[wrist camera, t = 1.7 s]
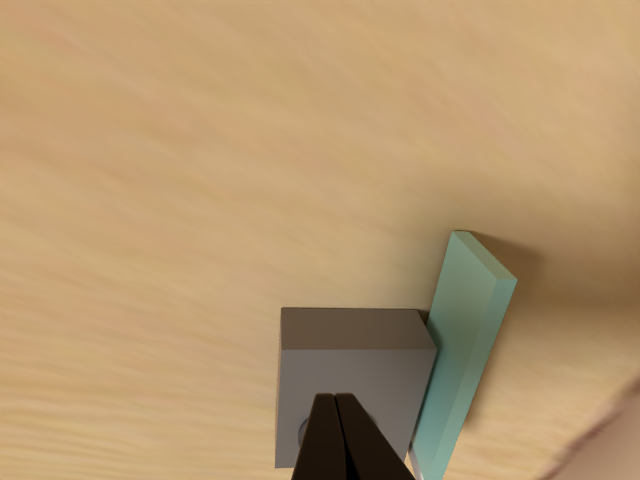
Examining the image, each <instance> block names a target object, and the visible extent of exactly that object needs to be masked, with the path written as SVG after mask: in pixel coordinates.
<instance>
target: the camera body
mask: <svg viewBox="0 0 640 480" xmlns="http://www.w3.org/2000/svg"><path fill="white" fill-rule="evenodd" d="M436 352H437V348H436V346H435V344H434V342H433V340H432V338H431V336H430V334H429V332H428V331H427V329H426V327H425V325H424V323H423V321H422V319H421V317H420V315H419V313H418V311H417V310H414V309H328V308H281V320H280V339H279V359H278V379H277V399H276V419H275V468H294V467H295V464H296V461H297V457H298V453H299V450H300V446H301V443H302V439H303V436H304V432H305V429H306V425H307V421H308V418H309V414H310V411H311V407H312V404H313V400H314V397H315V395H316V394H317V393H332V394H333V395H334V394H335V393H348V392H349V393H352V394H354V395H355V397H356V398H357V399H358V401H359V402H360V403H361V405H362V406H363V408H364V409H365V410H366V412H367V413H368V414H369V416H370V417H371V419H372V420H373V421H374V423H375V424H376V425H377V427H378V428H379V430H380V431H381V432H382V434H383V435H384V437H385V438H386V439H387V441H388V442H389V443H390V445H391V446H392V448H393V449H394V450H395V452H396V453H397V454H398V456H399V457H400V459H401V460H402V461H403V463H404V460H405V457H406V453H407V450H408V447H409V443H410V440H411V437H412V433H413V430H414V427H415V423H416V420H417V416H418V413H419V410H420V406H421V403H422V400H423V396H424V393H425V389H426V386H427V383H428V379H429V376H430V373H431V369H432V366H433V362H434V359H435V356H436Z"/></svg>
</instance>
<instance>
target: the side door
mask: <svg viewBox="0 0 640 480" xmlns="http://www.w3.org/2000/svg"><path fill="white" fill-rule="evenodd" d="M517 281H518V279H517V278H516V277H515V276H514V275H513V274H512V273H511V272H510V271H509V270H507V269H506V268H505V267H504V266H503V265H502V264H501V263H500V262H499V261H498V260H497V259H496V258H495V257H494V256H493V255H492V254H491V253H490V252H489V251H488V250H487V249H486V248H485V247H484V246H483V245H482V244H481V243H480V242H479V241H478V240H477V239H476V238H475V237H474V236H473V235H472V234H471V233H470V232H467V231H452V232H451V236H450V240H449V243H448V247H447V251H446V255H445V258H444V262H443V266H442V269H441V273H440V277H439V280H438V284H437V288H436V292H435V295H434V299H433V303H432V306H431V310H430V314H429V318H428V321H427V325H426V329H427V331H428V332H429V334H430V336H431V338H432V340H433V342H434V344H435V346H436V348H437V352H436V356H435V359H434V362H433V366H432V369H431V373H430V376H429V379H428V383H427V386H426V389H425V393H424V396H423V400H422V403H421V406H420V410H419V413H418V416H417V420H416V423H415V427H414V430H413V433H412V437H411V440H410V443H409V447H408V450H407V451H408V455H409V458H410V461H411V464H412V467H413V470H414V473H415V477H416V480H442V478H443V475H444V473H445V470H446V468H447V465H448V462H449V460H450V457H451V454H452V452H453V449H454V447H455V444H456V441H457V439H458V436H459V433H460V431H461V428H462V426H463V423H464V420H465V418H466V415H467V412H468V410H469V407H470V405H471V402H472V399H473V397H474V394H475V391H476V389H477V386H478V384H479V381H480V378H481V376H482V373H483V370H484V368H485V365H486V363H487V360H488V357H489V355H490V352H491V349H492V347H493V344H494V342H495V339H496V336H497V334H498V331H499V328H500V326H501V323H502V321H503V318H504V315H505V313H506V310H507V307H508V305H509V302H510V300H511V297H512V294H513V292H514V289H515V286H516V284H517Z"/></svg>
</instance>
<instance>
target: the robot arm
mask: <svg viewBox="0 0 640 480" xmlns="http://www.w3.org/2000/svg"><path fill="white" fill-rule="evenodd" d="M291 480H416V479H415V478H414V476H413V475H412V474H411V472H410V471H409V470H408V468H407V467H406V465H405V464H404V463H403V461H402V460H401V459H400V457H399V456H398V454H397V453H396V452H395V450H394V449H393V448H392V446H391V445H390V443H389V442H388V441H387V439H386V438H385V437H384V435H383V434H382V432H381V431H380V430H379V428H378V427H377V425H376V424H375V423H374V421H373V420H372V419H371V417H370V416H369V414H368V413H367V412H366V410H365V409H364V408H363V406H362V405H361V403H360V402H359V401H358V399H357V398H356V397H355V395H354V394H352V393H349V392H348V393H335V394H334V395H333V394H332V393H317V394H316V395H315V397H314V400H313V404H312V407H311V411H310V414H309V418H308V421H307V425H306V429H305V432H304V436H303V439H302V443H301V446H300V450H299V453H298V457H297V461H296V464H295V468H294V471H293V475H292V478H291Z"/></svg>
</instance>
